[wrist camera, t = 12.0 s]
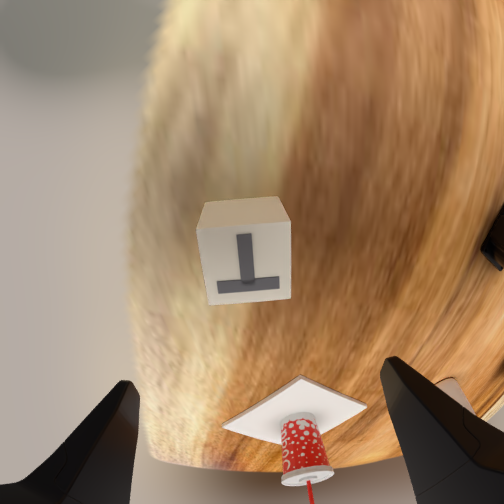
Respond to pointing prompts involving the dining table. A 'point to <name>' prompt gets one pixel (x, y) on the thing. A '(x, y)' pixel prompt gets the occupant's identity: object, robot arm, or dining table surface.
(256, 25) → the dining table surface
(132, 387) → the robot arm
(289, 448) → the beverage cup
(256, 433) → the mat
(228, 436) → the dining table surface
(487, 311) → the dining table surface
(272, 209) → the letter block
